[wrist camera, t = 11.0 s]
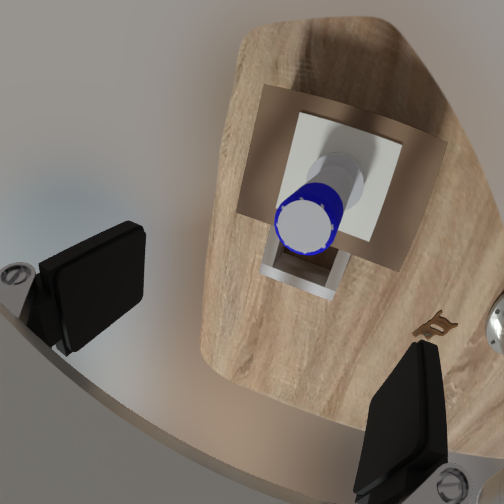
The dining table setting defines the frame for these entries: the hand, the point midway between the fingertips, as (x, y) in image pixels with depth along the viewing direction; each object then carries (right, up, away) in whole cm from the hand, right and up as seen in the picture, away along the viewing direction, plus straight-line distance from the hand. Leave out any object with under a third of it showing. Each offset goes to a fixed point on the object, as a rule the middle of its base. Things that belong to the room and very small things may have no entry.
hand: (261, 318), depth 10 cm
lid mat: (+8, +9, +19) cm, 22 cm away
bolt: (+8, +9, +19) cm, 22 cm away
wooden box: (+10, +9, +29) cm, 31 cm away
